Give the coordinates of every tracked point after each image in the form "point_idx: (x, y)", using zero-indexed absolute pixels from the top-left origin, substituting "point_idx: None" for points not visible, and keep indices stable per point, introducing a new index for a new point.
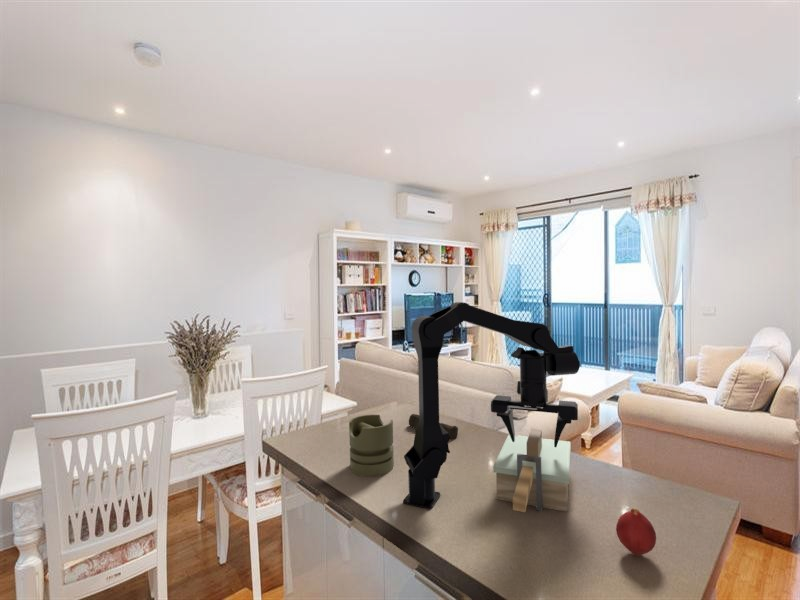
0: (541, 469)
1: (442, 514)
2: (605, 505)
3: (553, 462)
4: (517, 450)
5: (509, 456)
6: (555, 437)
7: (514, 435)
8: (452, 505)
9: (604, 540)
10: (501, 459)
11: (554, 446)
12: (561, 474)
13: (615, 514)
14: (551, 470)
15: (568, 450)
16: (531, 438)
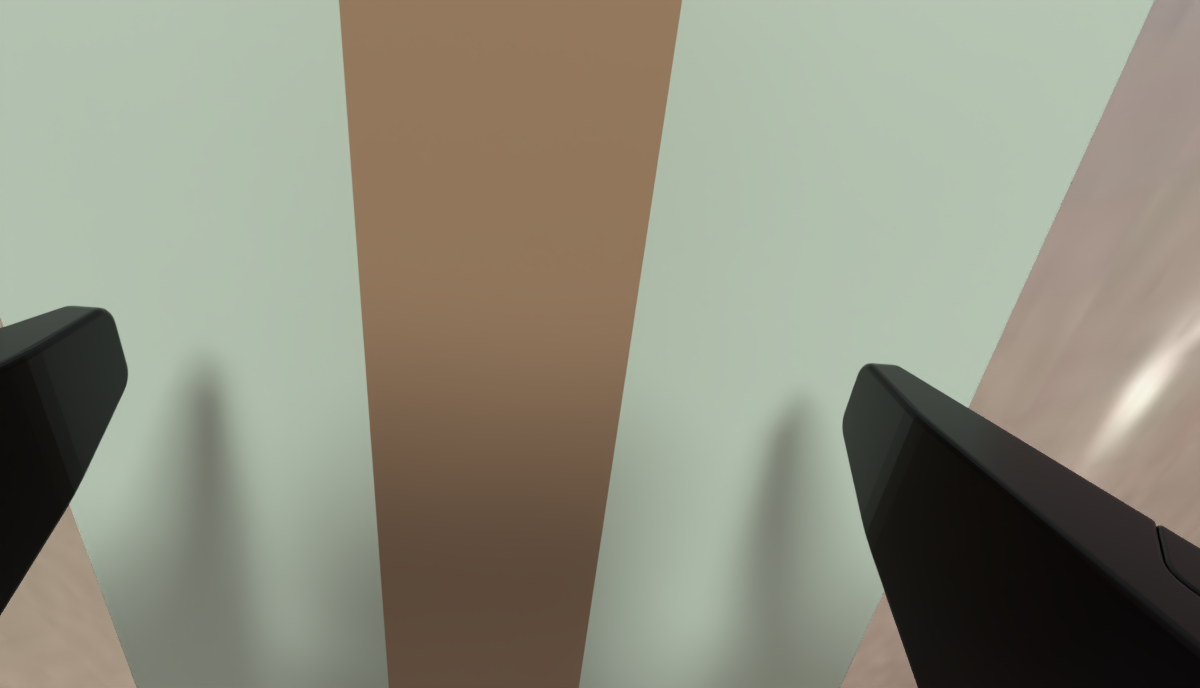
0: (602, 650)
1: (42, 652)
2: (1052, 343)
3: (749, 495)
4: (238, 242)
5: (200, 461)
6: (913, 650)
7: (51, 416)
8: (35, 574)
9: (876, 644)
10: (142, 550)
11: (844, 440)
12: (776, 686)
13: (1060, 433)
14: (697, 643)
15: (1120, 13)
16: (448, 589)
